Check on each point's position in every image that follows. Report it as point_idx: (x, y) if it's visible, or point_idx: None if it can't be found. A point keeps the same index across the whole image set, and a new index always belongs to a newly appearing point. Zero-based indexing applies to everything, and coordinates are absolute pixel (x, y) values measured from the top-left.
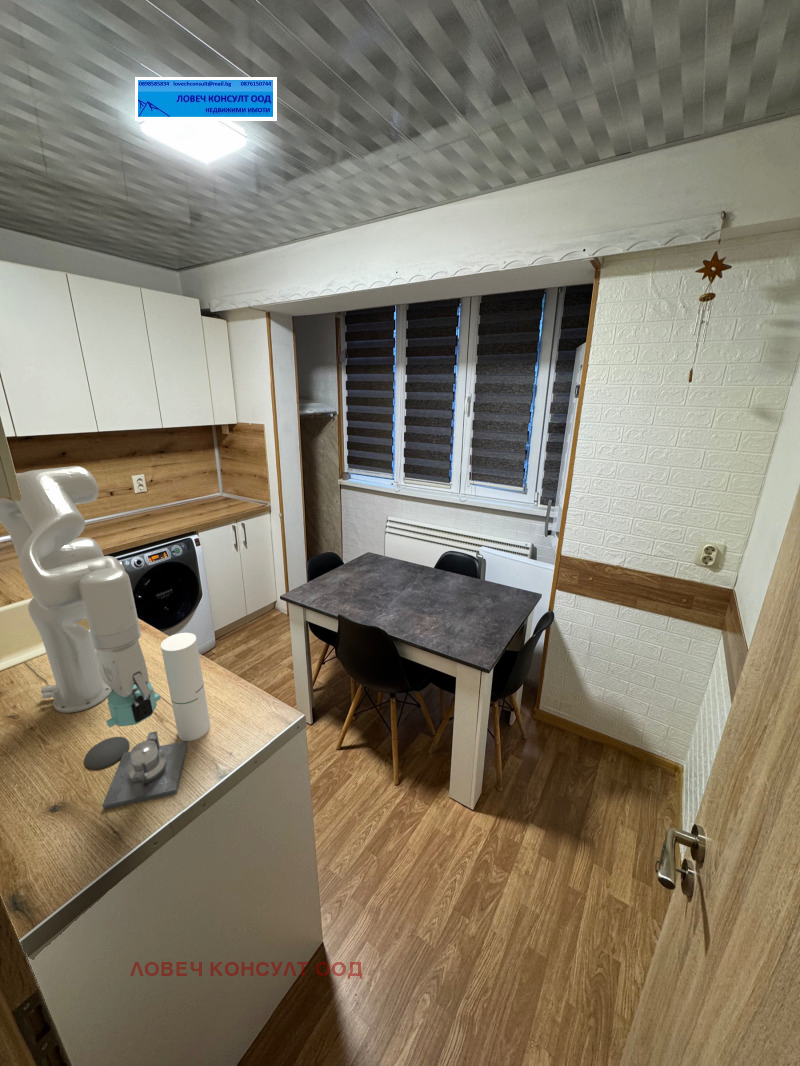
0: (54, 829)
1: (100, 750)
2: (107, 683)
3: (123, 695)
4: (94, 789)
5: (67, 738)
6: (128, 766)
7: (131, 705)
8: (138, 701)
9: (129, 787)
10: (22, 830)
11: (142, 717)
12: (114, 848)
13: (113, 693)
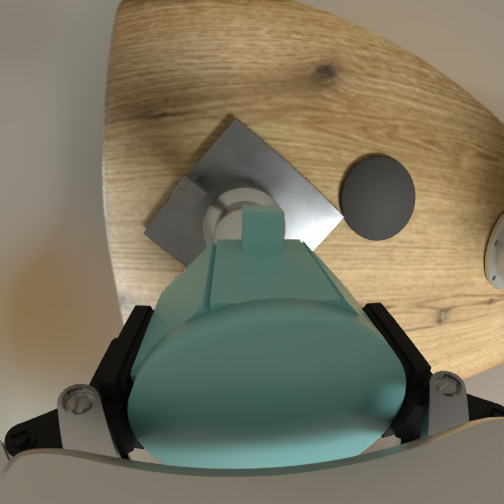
0: (274, 50)
1: (394, 193)
2: (412, 479)
3: (12, 463)
4: (308, 133)
5: (465, 179)
6: (295, 202)
7: (112, 383)
8: (56, 424)
9: (232, 175)
10: (323, 26)
11: (115, 339)
12: (131, 103)
13: (368, 373)
